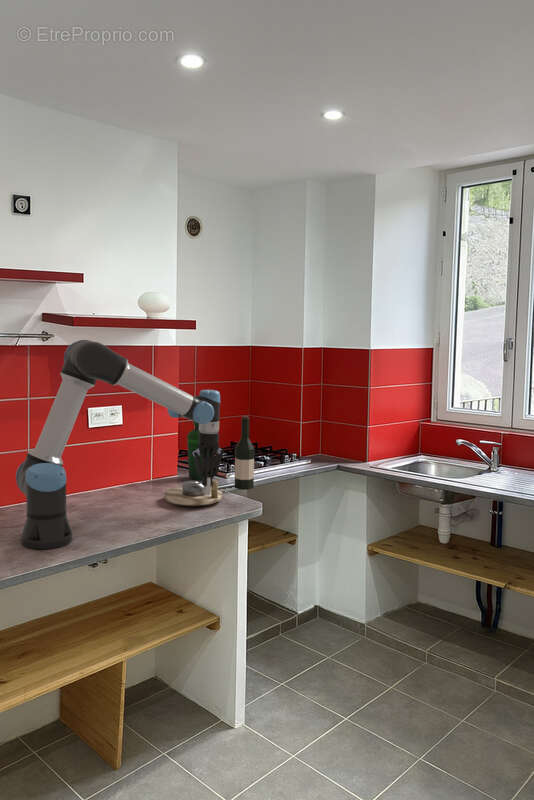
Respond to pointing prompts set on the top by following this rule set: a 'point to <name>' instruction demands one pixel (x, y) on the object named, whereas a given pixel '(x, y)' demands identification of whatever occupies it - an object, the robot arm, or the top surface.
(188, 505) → the turntable base
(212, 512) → the top surface
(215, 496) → the turntable
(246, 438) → the wine bottle
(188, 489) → the cover
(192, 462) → the bottle
